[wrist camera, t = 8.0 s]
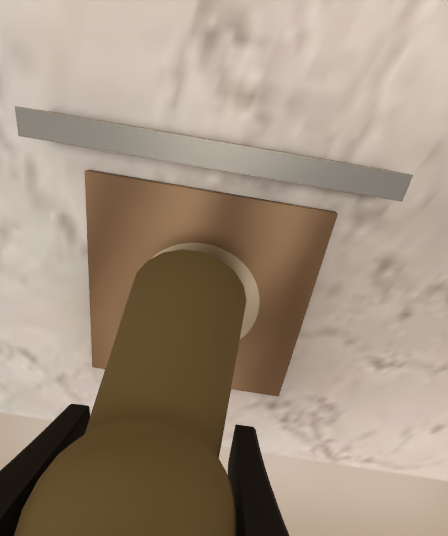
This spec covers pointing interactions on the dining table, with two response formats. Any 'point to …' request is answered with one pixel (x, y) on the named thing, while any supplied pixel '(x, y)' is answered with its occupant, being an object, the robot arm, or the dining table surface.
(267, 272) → the walnut board
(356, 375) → the dining table surface
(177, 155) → the low wall
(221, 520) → the cork
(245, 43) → the dining table surface
